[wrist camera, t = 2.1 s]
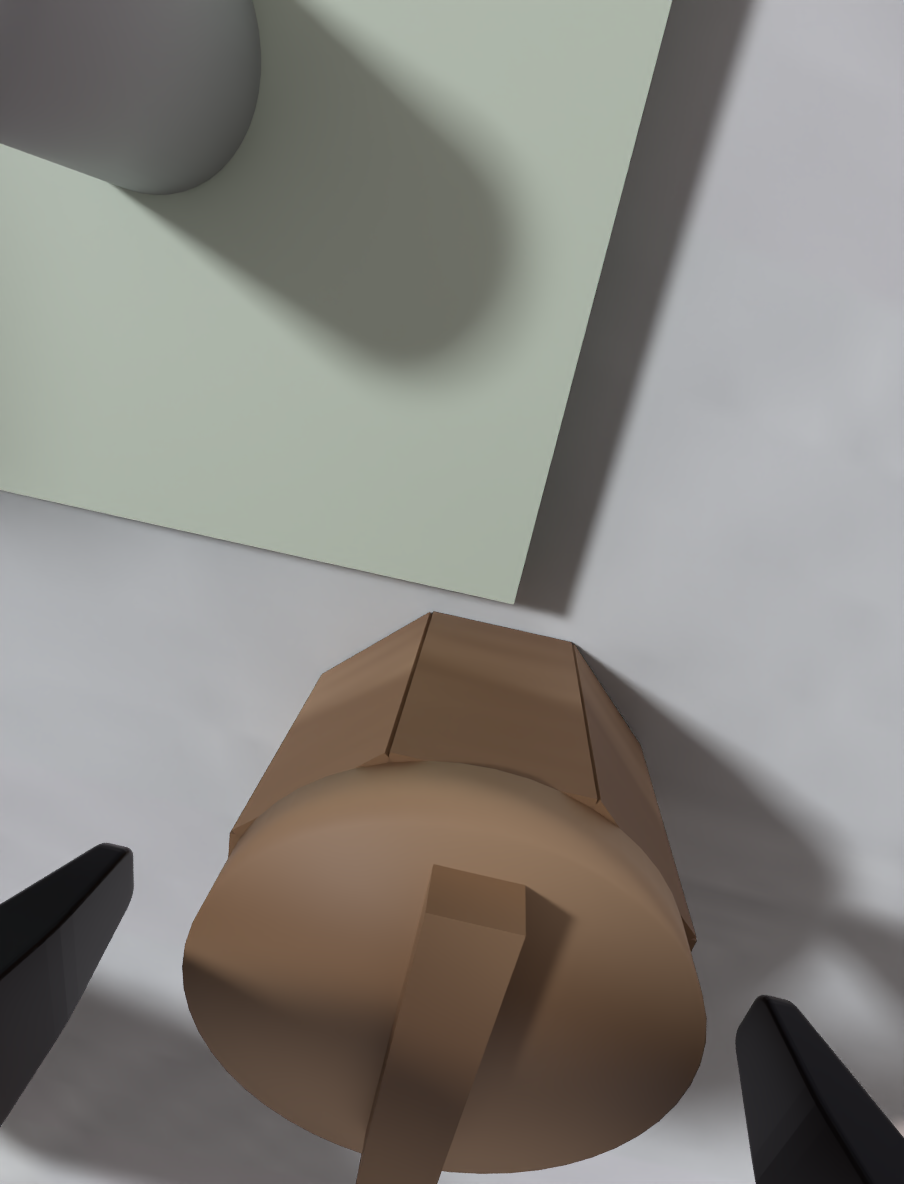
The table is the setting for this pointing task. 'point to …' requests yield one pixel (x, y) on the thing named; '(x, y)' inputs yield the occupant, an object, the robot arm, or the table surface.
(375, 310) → the pale green flat slab
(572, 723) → the cap
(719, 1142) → the table surface
